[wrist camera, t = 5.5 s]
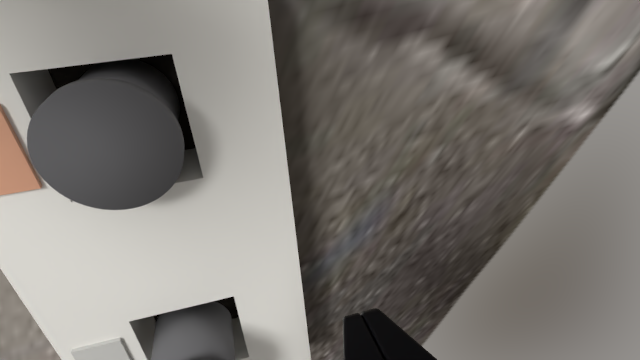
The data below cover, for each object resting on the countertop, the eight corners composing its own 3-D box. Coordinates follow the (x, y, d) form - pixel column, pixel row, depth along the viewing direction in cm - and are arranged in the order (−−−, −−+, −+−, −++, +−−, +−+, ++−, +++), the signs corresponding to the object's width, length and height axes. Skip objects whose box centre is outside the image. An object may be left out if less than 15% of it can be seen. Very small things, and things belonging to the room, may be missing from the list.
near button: (197, 145, 18) (197, 196, 15) (91, 162, 17) (62, 221, 14) (171, 43, 16) (163, 73, 12) (47, 57, 15) (-3, 95, 11)
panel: (301, 327, 27) (312, 369, 24) (114, 376, 25) (104, 428, 22) (252, -41, 15) (263, -38, 13) (-109, -12, 13) (-187, -1, 10)
